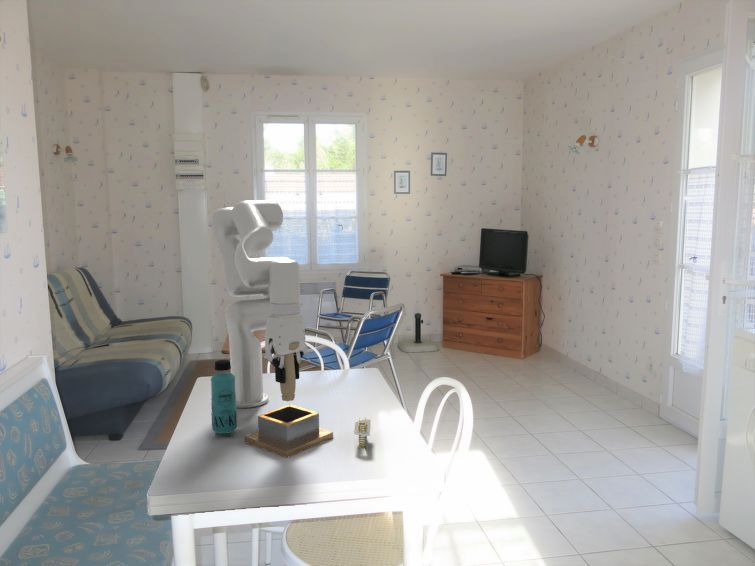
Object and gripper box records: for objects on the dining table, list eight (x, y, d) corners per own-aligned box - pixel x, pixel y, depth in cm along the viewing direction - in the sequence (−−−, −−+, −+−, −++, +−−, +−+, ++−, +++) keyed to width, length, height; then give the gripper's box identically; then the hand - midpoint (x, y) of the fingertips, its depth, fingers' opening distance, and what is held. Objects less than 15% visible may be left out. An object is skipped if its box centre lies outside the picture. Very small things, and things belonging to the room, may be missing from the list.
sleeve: (244, 441, 155) (243, 416, 154) (290, 424, 167) (290, 400, 166) (286, 457, 145) (286, 430, 144) (333, 437, 157) (332, 412, 156)
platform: (336, 460, 144) (335, 434, 143) (341, 432, 162) (341, 408, 161) (386, 460, 144) (386, 433, 143) (386, 432, 161) (386, 408, 161)
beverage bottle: (208, 434, 160) (204, 360, 158) (231, 428, 164) (228, 356, 162) (219, 441, 155) (215, 365, 153) (242, 434, 159) (239, 360, 157)
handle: (299, 402, 152) (298, 344, 150) (274, 403, 152) (272, 344, 150) (301, 396, 157) (300, 339, 155) (277, 397, 157) (275, 340, 155)
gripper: (299, 303, 160) (301, 371, 162) (249, 312, 147) (252, 385, 150) (319, 306, 156) (321, 375, 158) (269, 315, 143) (272, 390, 145)
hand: (287, 379), depth 154 cm, fingers closed on handle, 4 cm apart
